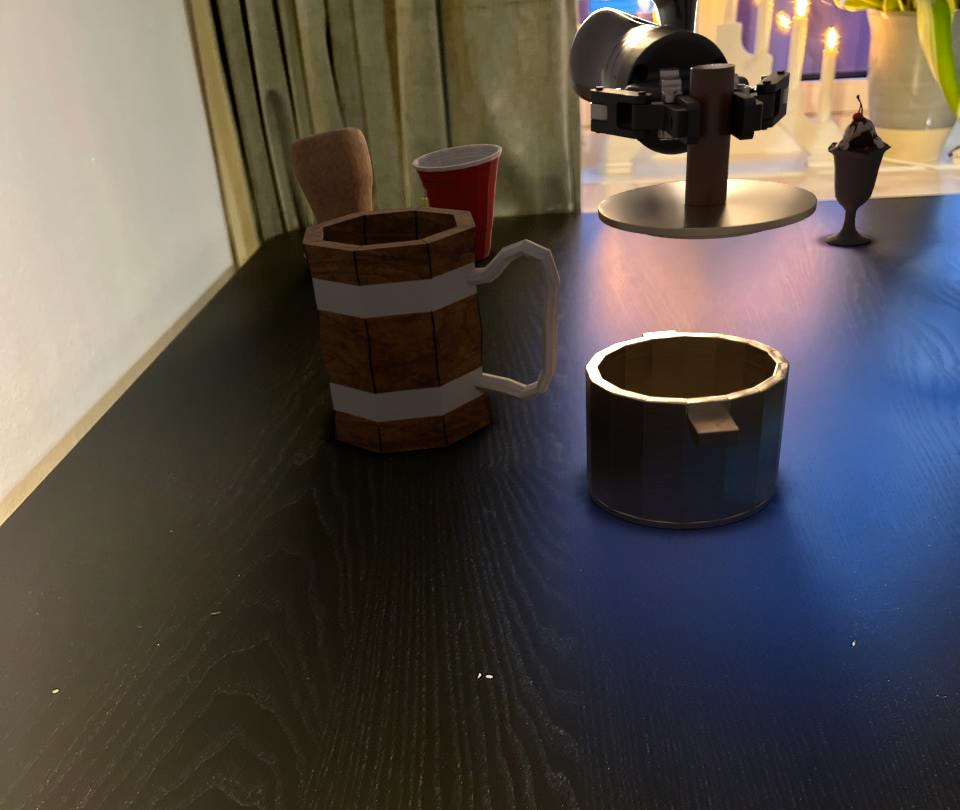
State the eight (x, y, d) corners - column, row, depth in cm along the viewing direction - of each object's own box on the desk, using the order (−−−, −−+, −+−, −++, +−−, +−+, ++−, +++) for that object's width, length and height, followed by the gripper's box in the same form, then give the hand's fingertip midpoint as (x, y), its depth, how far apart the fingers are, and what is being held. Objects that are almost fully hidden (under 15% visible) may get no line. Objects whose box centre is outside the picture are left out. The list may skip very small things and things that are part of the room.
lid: (780, 189, 68) (794, 46, 64) (846, 236, 57) (868, 67, 52) (586, 206, 69) (584, 65, 64) (614, 256, 58) (614, 89, 53)
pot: (737, 426, 75) (746, 314, 70) (813, 541, 60) (831, 409, 55) (573, 440, 75) (571, 329, 70) (608, 558, 60) (608, 429, 55)
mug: (302, 448, 78) (264, 250, 69) (367, 385, 88) (342, 207, 79) (542, 464, 72) (534, 251, 63) (582, 395, 82) (579, 204, 74)
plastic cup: (408, 257, 125) (396, 153, 118) (483, 241, 128) (476, 140, 122) (445, 274, 117) (434, 164, 110) (524, 257, 120) (518, 149, 113)
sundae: (838, 230, 119) (855, 90, 111) (888, 238, 115) (910, 93, 106) (805, 242, 116) (820, 99, 108) (855, 250, 112) (876, 101, 103)
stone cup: (329, 243, 134) (310, 120, 126) (411, 242, 131) (397, 116, 122) (281, 274, 123) (256, 141, 114) (369, 274, 119) (350, 137, 111)
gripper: (569, 36, 69) (602, 58, 55) (767, 18, 69) (851, 36, 55) (571, 153, 74) (602, 201, 59) (757, 136, 73) (833, 181, 59)
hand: (721, 122), depth 57 cm, fingers closed on lid, 2 cm apart
